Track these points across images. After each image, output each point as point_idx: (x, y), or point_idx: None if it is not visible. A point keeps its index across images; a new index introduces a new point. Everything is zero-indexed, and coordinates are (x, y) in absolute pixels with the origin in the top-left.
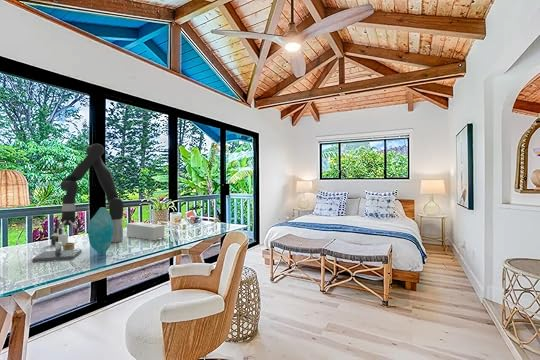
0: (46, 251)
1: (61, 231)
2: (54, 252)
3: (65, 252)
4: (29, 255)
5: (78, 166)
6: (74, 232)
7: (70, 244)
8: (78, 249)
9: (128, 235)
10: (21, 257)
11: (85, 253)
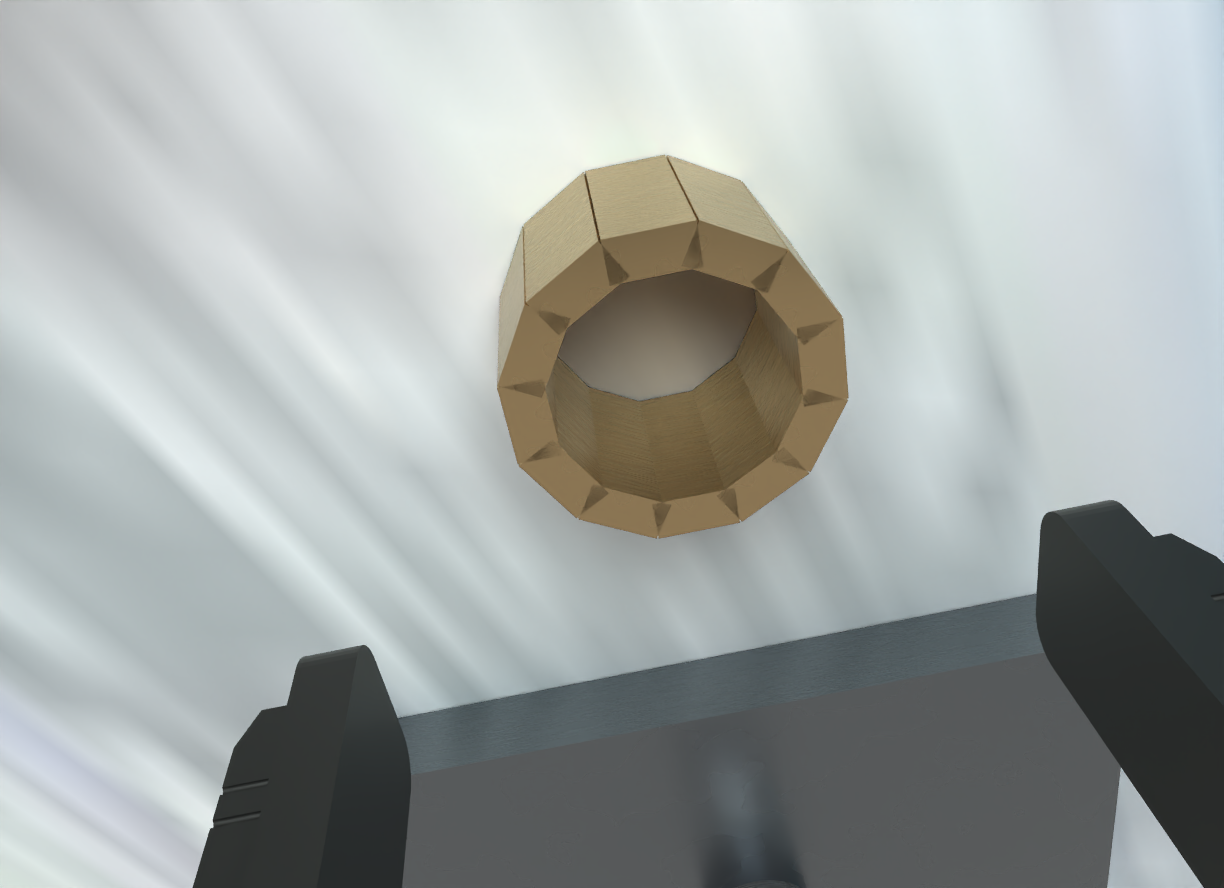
0: None
1: (371, 818)
2: (623, 853)
3: (864, 851)
4: (32, 774)
5: None
6: (1082, 708)
7: (784, 485)
8: None
9: None
10: (8, 881)
11: None
